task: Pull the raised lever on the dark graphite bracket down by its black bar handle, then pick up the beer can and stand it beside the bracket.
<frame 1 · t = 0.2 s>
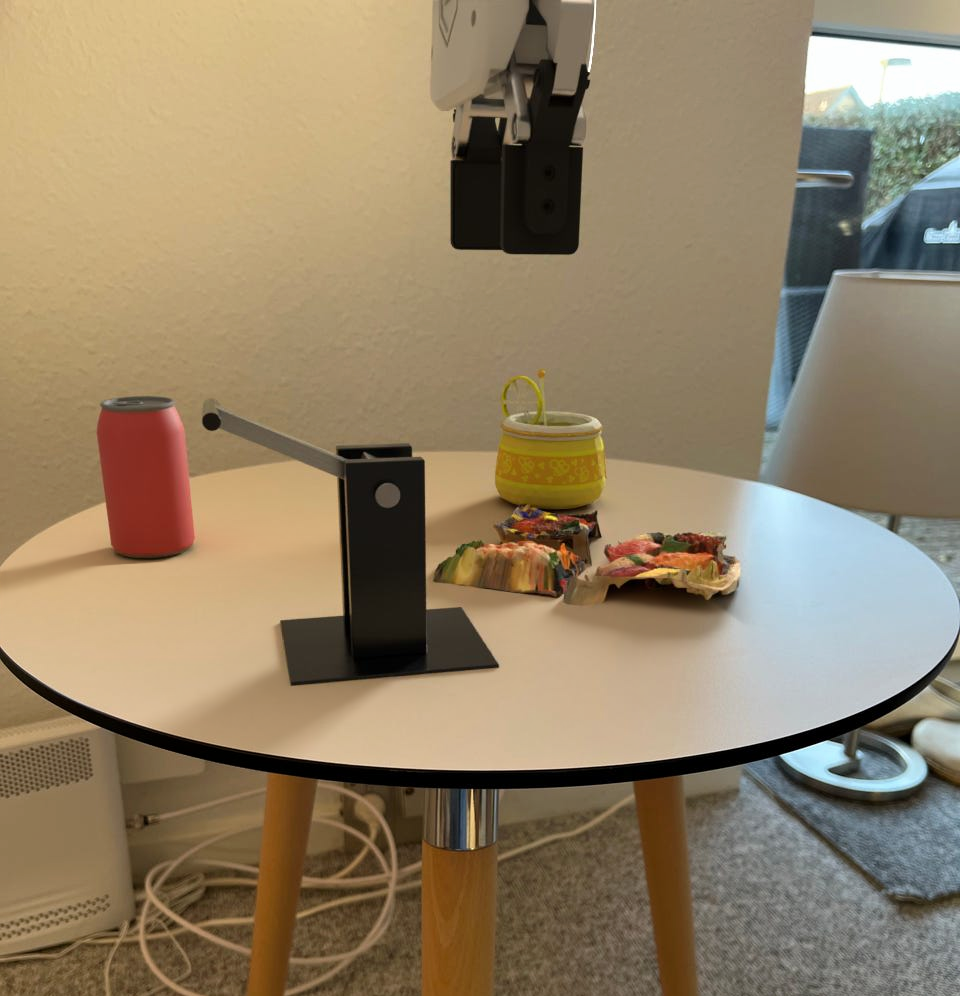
hand: (508, 251, 46), 24 cm above the table, tool pointing down, fingers open, 9 cm apart
beer can: (154, 551, 84), on the table
food: (594, 581, 78), on the table
bracket: (384, 658, 63), on the table
yellow flower pot: (547, 500, 101), on the table
lever: (306, 453, 57), point 13 cm above the table, hinge at 25.0°
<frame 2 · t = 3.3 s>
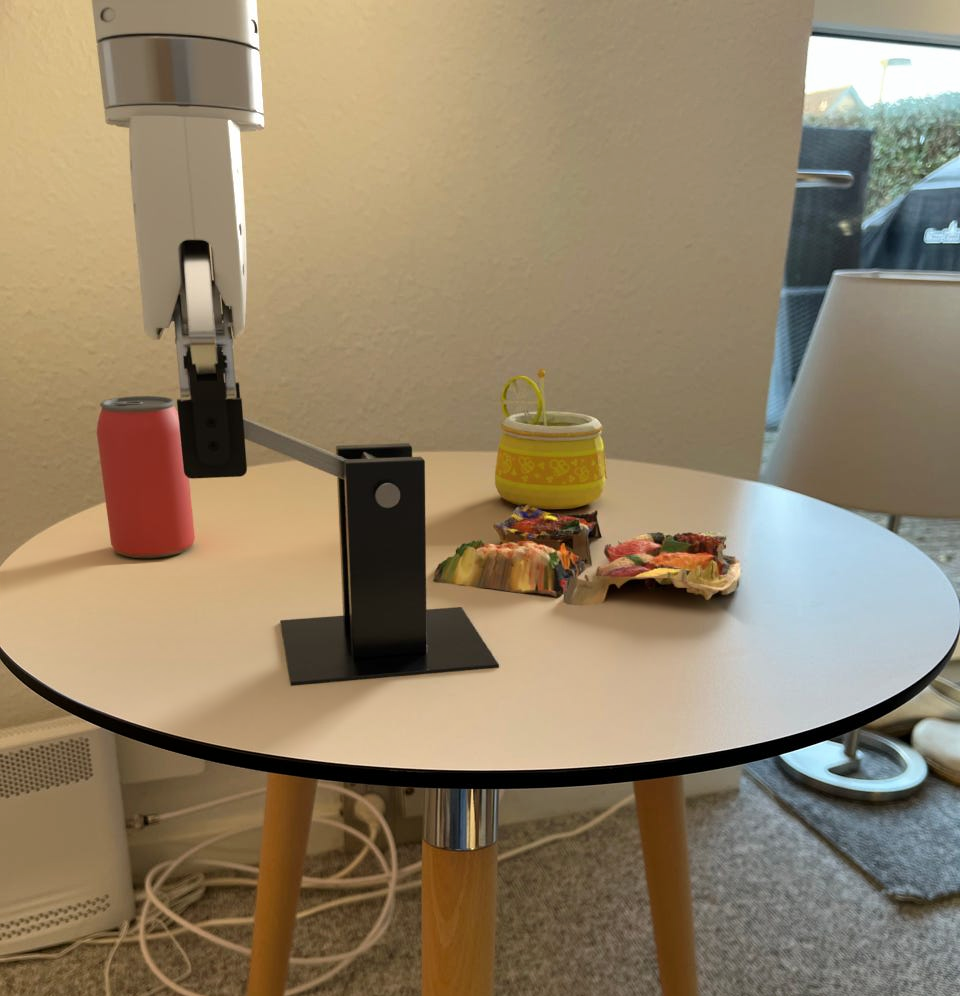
hand: (215, 461, 56), 13 cm above the table, tool pointing down, fingers closed on lever, 5 cm apart
lever: (306, 453, 57), point 13 cm above the table, hinge at 25.0°, touching gripper
everything else where it was.
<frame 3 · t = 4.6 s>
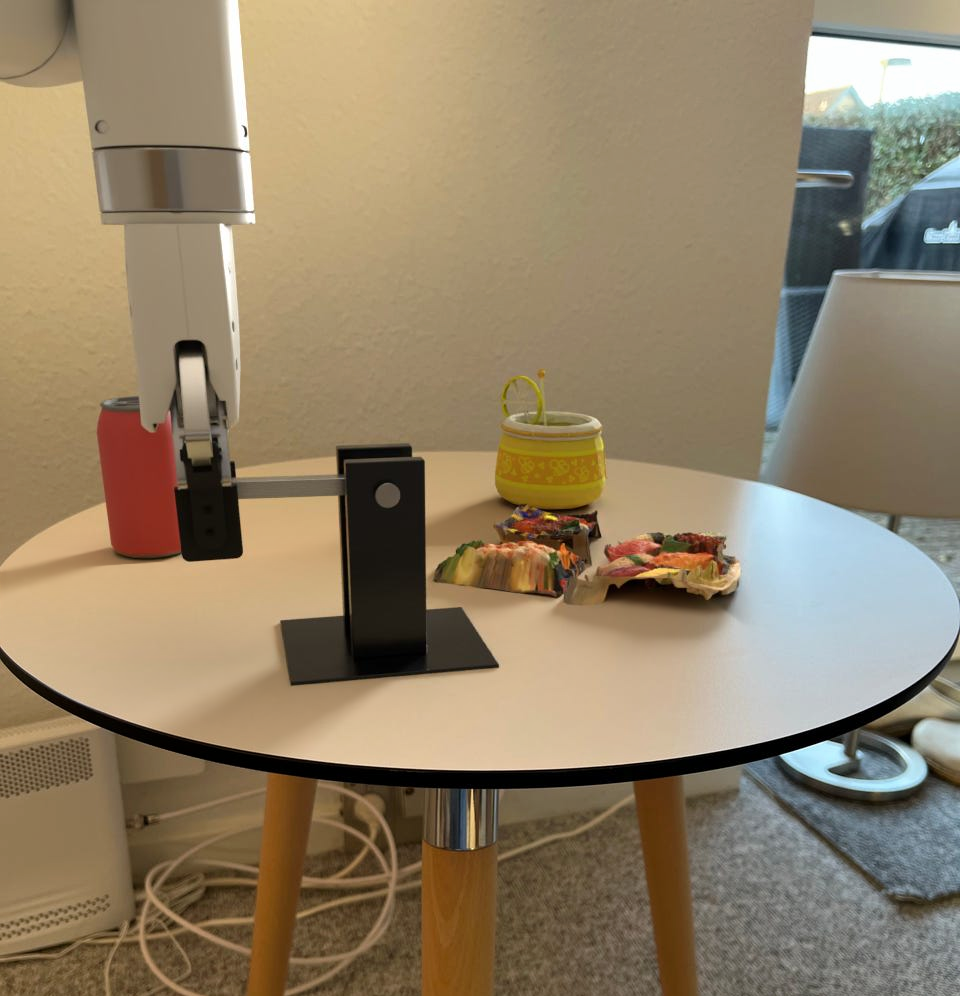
hand: (212, 540, 58), 8 cm above the table, tool pointing down, fingers closed on lever, 5 cm apart
lever: (300, 486, 58), point 11 cm above the table, hinge at 0.5°, touching gripper
everything else where it was.
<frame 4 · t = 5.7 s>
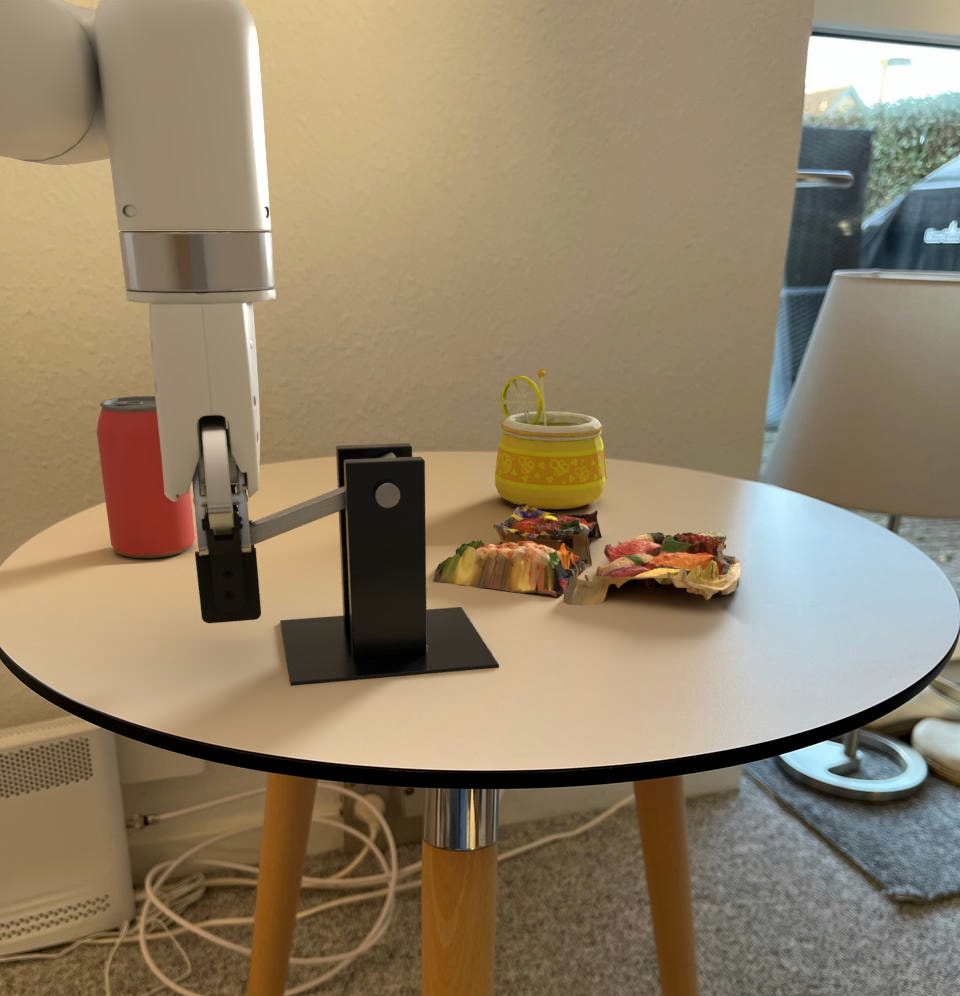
hand: (231, 599, 59), 5 cm above the table, tool pointing down, fingers closed on lever, 5 cm apart
lever: (306, 512, 58), point 10 cm above the table, hinge at -19.2°, touching gripper
everything else where it was.
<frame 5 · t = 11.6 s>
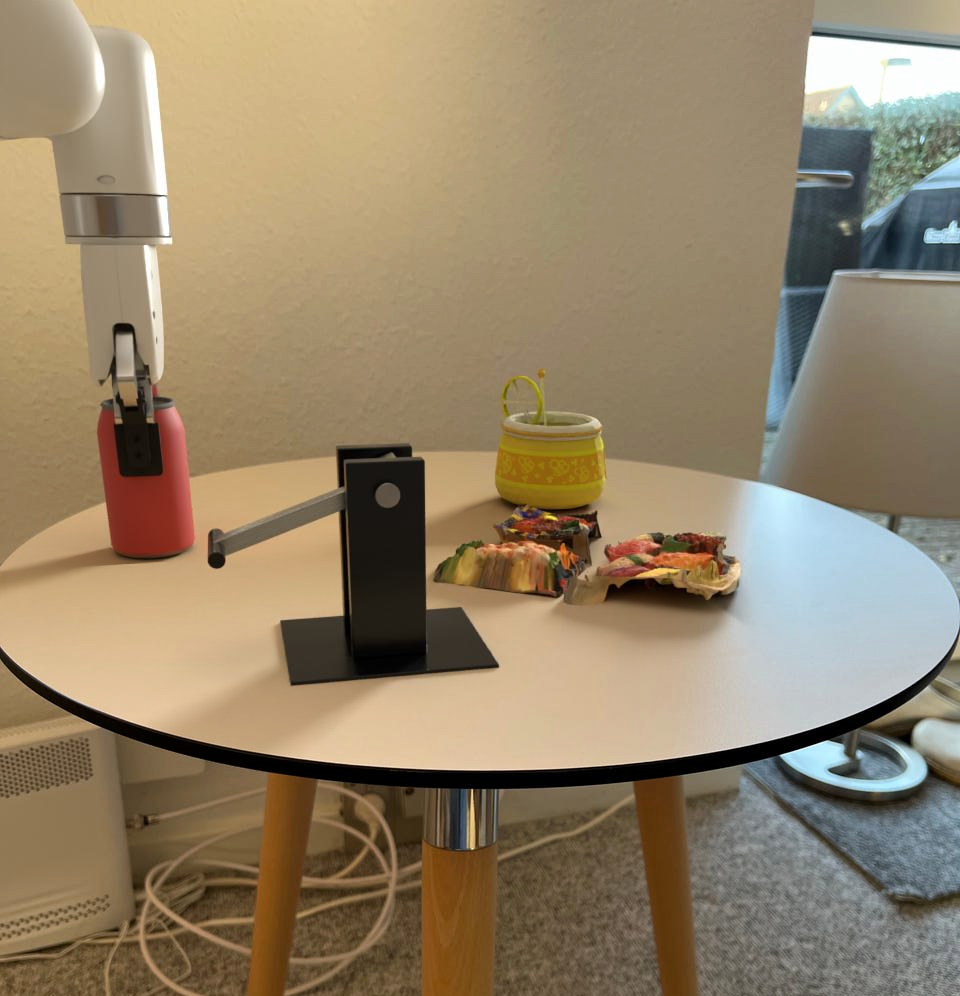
hand: (144, 463, 81), 7 cm above the table, tool pointing down, fingers closed on beer can, 6 cm apart
beer can: (154, 551, 84), on the table, touching gripper
lever: (306, 512, 58), point 10 cm above the table, hinge at -19.2°
everything else where it was.
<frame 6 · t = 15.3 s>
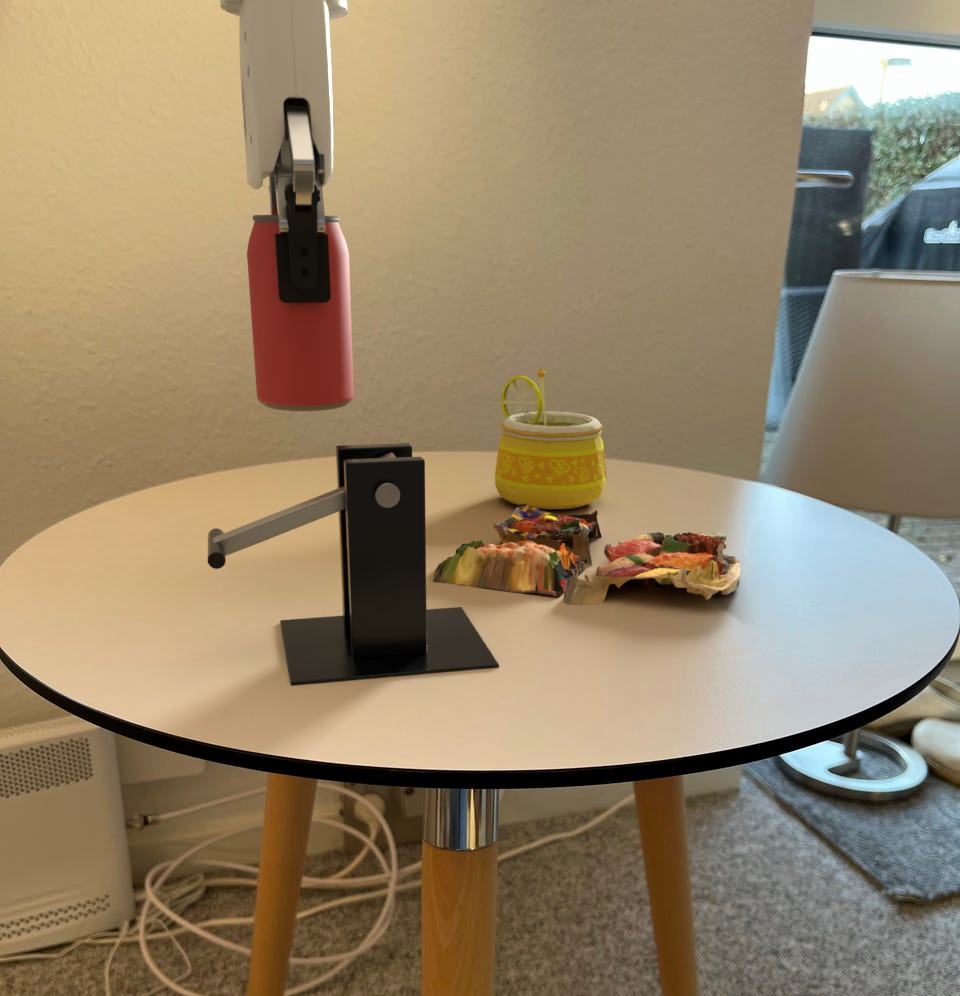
hand: (300, 296, 67), 20 cm above the table, tool pointing down, fingers closed on beer can, 6 cm apart
beer can: (306, 408, 70), point 13 cm above the table, touching gripper
everything else where it was.
when the fingers open (7 cm above the table, at t = 18.9 s): beer can stays where it is, on the table.
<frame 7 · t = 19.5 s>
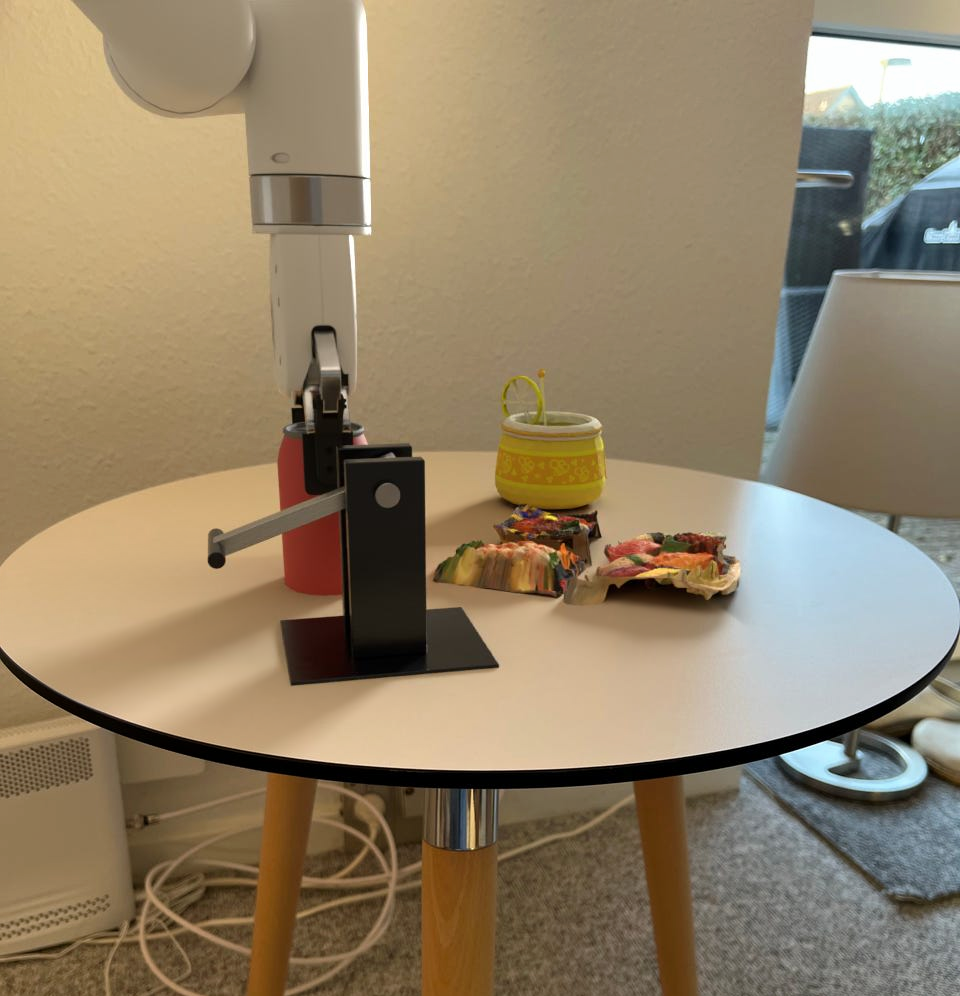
hand: (322, 476, 71), 9 cm above the table, tool pointing down, fingers open, 9 cm apart
beer can: (331, 595, 74), on the table
everything else where it was.
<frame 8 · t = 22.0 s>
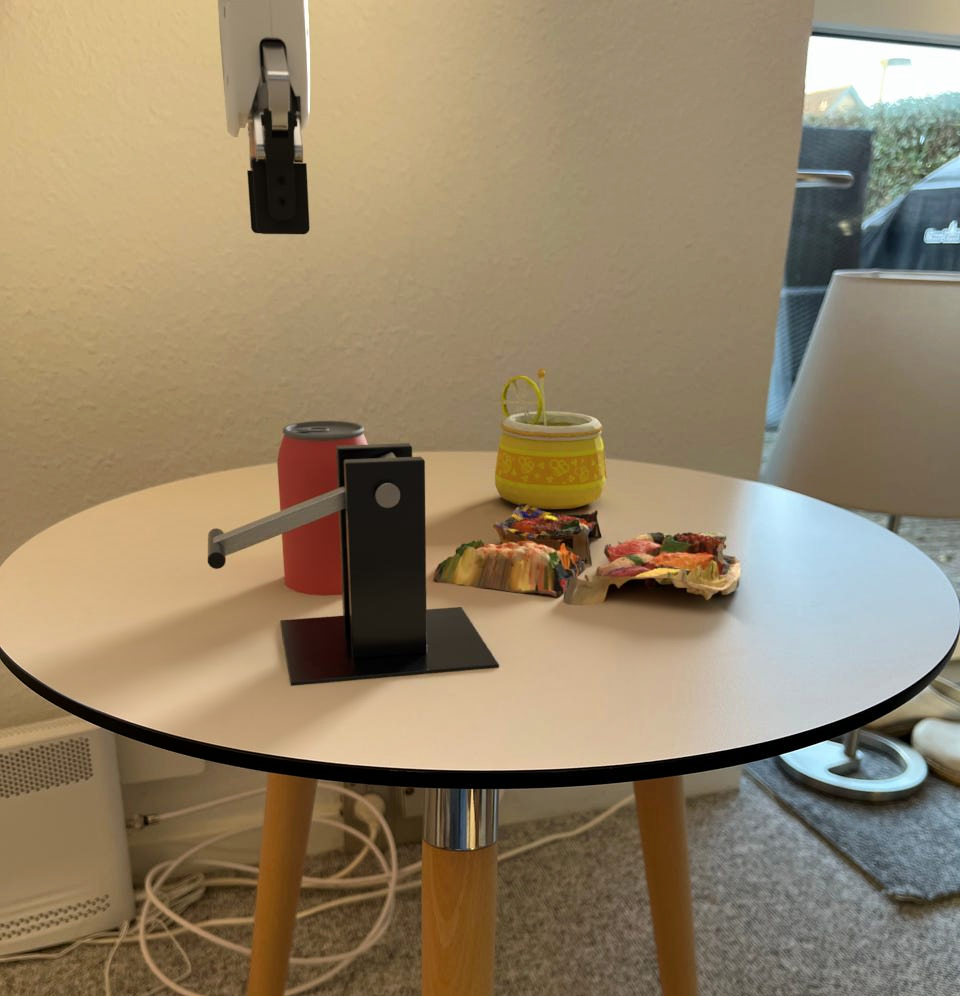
hand: (278, 233, 67), 24 cm above the table, tool pointing down, fingers open, 9 cm apart
nothing on the table moved.
at the end: lever at -19° (first picture: +25°); beer can inside the target area on the table beside the bracket (0.1 cm from its centre), on the table; beer can tilted 0° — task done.
